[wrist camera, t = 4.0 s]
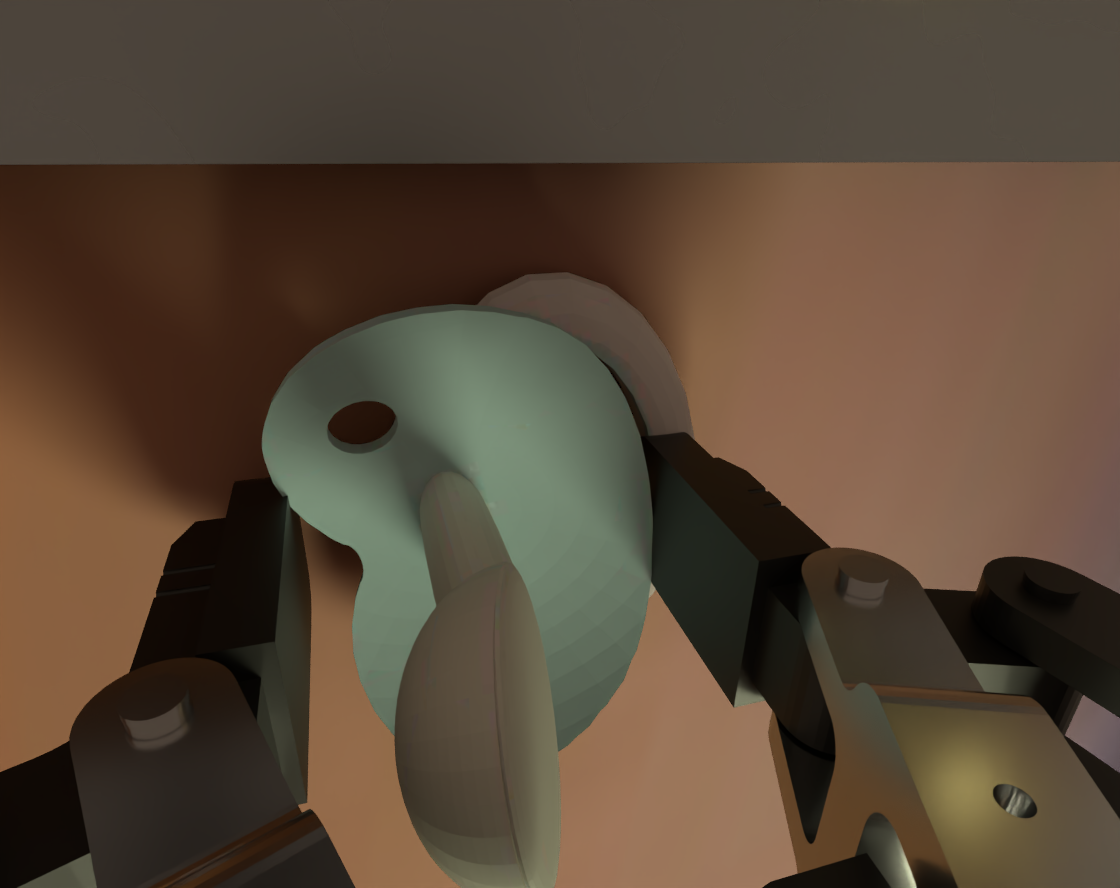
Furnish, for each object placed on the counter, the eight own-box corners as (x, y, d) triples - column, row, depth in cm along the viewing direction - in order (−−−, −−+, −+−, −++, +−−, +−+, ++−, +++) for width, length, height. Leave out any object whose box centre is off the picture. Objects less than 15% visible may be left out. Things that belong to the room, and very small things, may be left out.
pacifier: (651, 199, 10) (221, 309, 9) (1033, 316, 5) (117, 618, 4) (693, 588, 14) (388, 703, 13) (943, 899, 8) (455, 1149, 7)
